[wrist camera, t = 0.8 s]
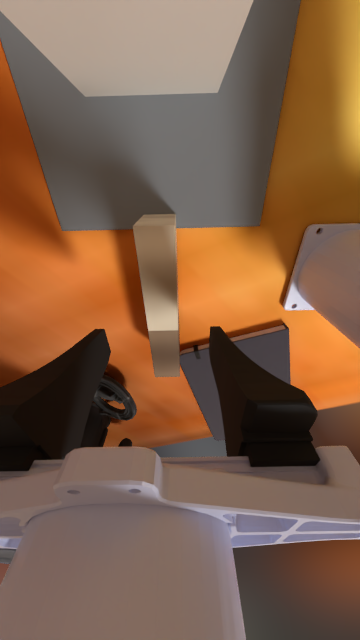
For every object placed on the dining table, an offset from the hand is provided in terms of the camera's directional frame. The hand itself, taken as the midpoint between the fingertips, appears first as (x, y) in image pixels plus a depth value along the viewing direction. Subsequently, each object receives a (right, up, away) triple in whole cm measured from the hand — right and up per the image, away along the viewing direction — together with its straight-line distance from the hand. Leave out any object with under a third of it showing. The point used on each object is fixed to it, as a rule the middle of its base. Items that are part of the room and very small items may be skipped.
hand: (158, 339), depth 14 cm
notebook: (+10, -9, +16) cm, 21 cm away
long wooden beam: (0, +4, +6) cm, 7 cm away
